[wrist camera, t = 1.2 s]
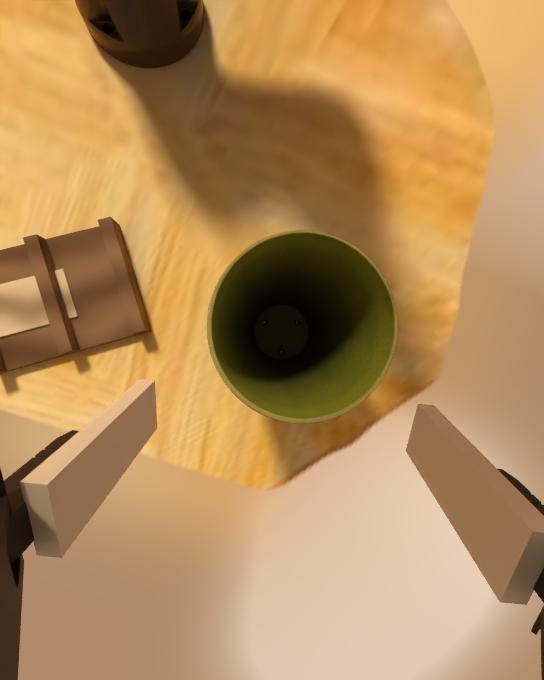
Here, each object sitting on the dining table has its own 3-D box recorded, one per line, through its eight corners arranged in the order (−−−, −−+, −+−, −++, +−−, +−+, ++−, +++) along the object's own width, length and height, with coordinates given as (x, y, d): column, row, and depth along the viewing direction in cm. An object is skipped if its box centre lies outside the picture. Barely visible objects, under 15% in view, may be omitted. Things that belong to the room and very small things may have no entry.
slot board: (-45, 264, 34) (-66, 258, 31) (119, 225, 35) (110, 216, 33) (-10, 375, 34) (-28, 378, 31) (151, 330, 36) (144, 329, 33)
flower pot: (271, 412, 37) (291, 464, 21) (199, 325, 36) (164, 311, 20) (355, 341, 38) (434, 340, 22) (287, 255, 38) (319, 191, 22)
